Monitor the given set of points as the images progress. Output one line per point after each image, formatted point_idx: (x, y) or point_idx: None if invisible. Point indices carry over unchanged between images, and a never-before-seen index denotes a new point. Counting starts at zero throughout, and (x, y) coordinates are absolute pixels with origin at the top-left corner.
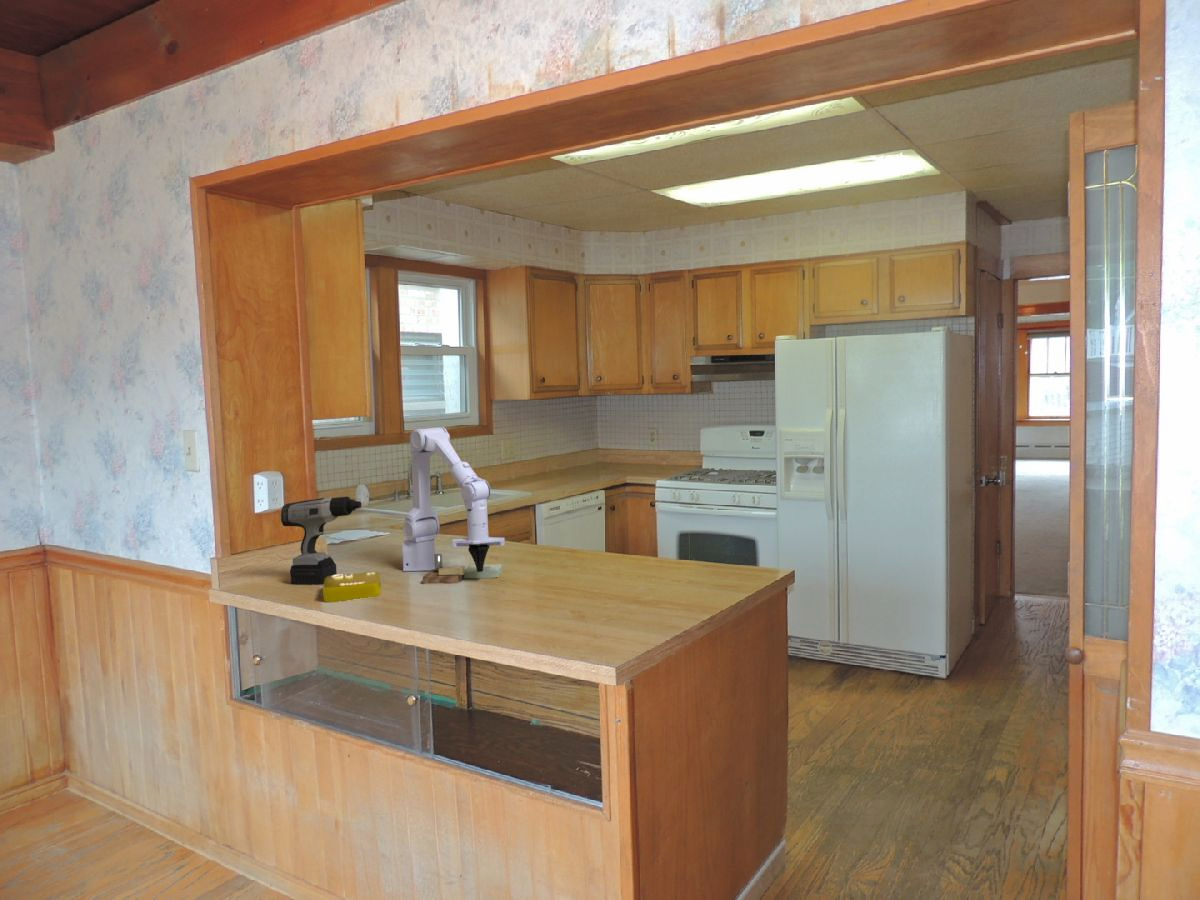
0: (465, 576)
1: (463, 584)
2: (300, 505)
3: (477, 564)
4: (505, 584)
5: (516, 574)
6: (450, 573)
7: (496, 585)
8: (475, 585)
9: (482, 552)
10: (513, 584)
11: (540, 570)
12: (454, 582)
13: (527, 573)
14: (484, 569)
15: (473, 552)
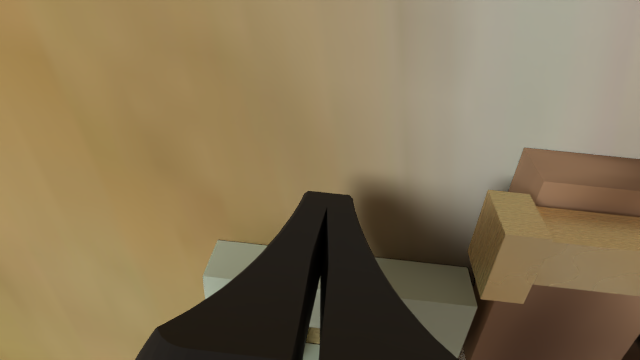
0: (457, 276)
1: (477, 100)
2: None
3: (339, 231)
4: (92, 28)
5: (118, 284)
6: (619, 221)
7: (164, 6)
8: (365, 43)
9: (223, 319)
10: (19, 15)
11: (7, 329)
12: (557, 154)
13: (55, 290)
14: (316, 323)
15: (379, 339)
